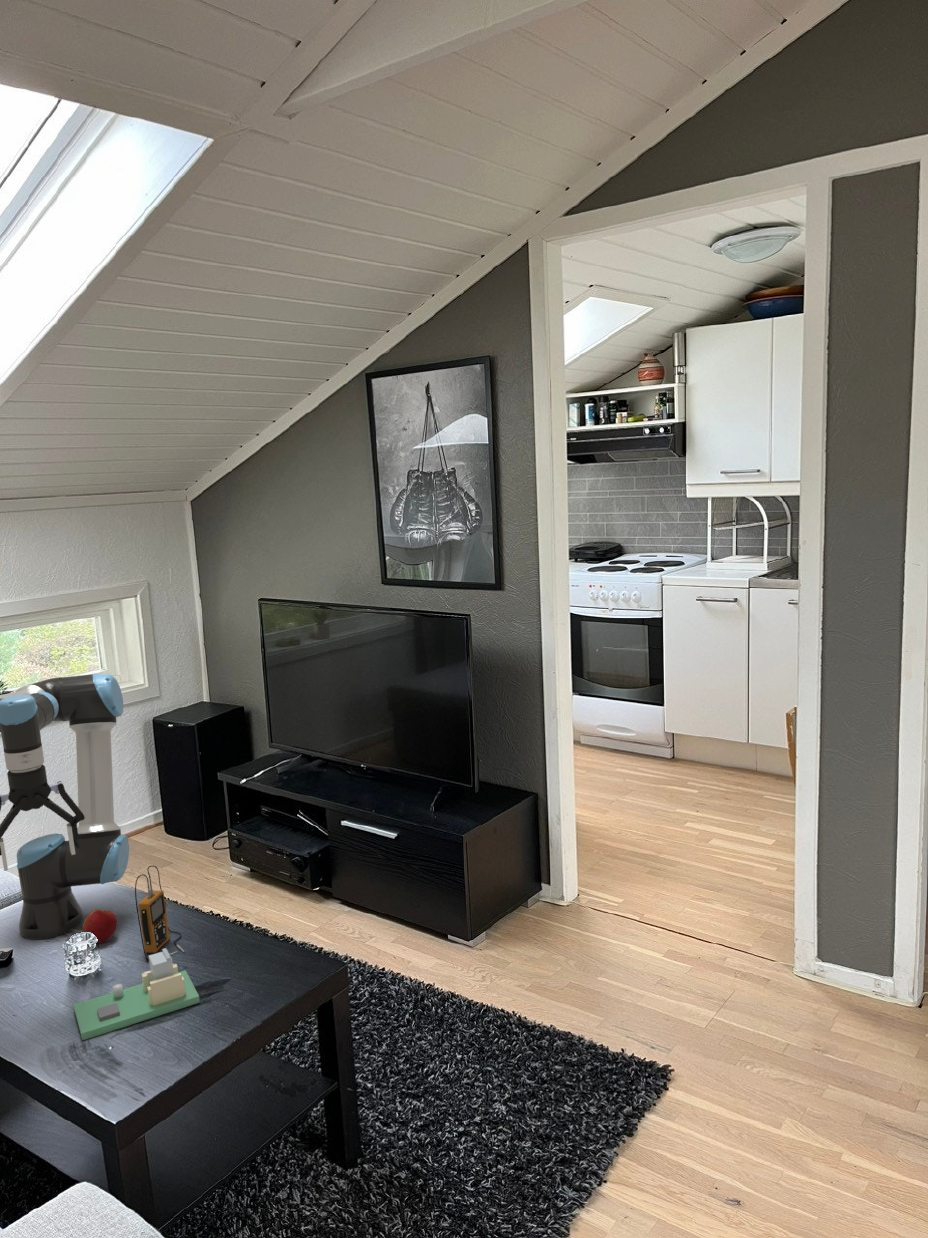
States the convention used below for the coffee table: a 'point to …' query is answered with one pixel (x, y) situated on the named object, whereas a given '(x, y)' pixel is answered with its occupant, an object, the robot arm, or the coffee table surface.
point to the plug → (161, 965)
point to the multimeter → (153, 919)
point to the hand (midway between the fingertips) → (39, 860)
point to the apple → (101, 924)
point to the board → (135, 1003)
